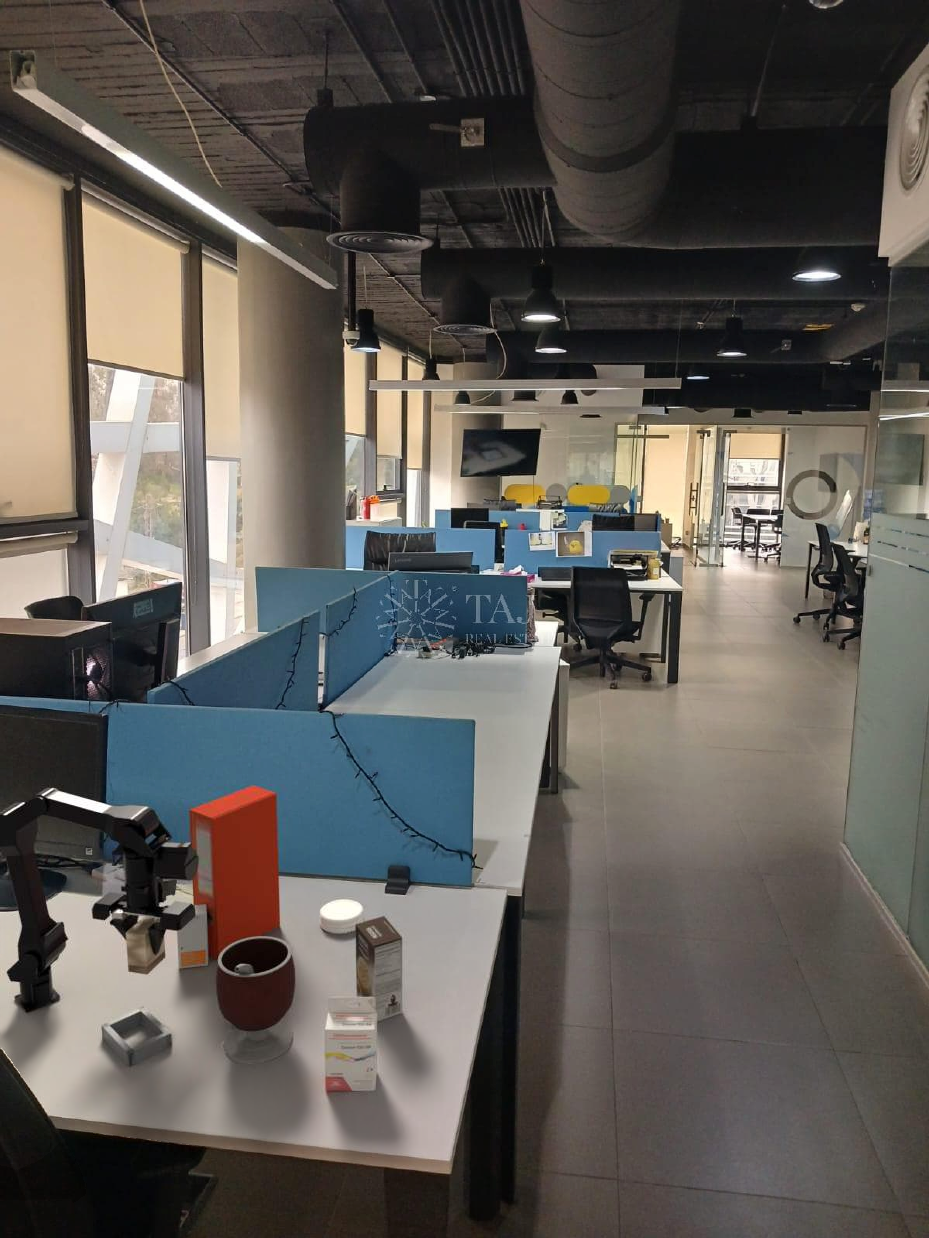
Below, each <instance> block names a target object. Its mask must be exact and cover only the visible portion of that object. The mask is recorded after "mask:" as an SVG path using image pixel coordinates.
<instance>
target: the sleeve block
mask: <svg viewBox="0 0 929 1238" xmlns="http://www.w3.org/2000/svg"><path fill="white" fill-rule="evenodd" d="M153 923H154V918H152V917H145V916H142V918H141V919H140V920H139V921H138V923H136V924H135V925H134V926H133V927H132V928H130V929H129V930H128V931H127V932H126V940H125V943H126V955H127V967H128V972H129V973H133V974H134V973H136V974H141V975H146V976H147V975H148V974H150V973H151V972H152V971H153V970H154V969H155V968H156V967H157V966H158V965H159V964H160V963H161V962H162V961H164V959H166V943H165V937H164V938H163V941H162V944H161V947H160V950H159V953H158V954H157V955H154V953H153V951H152V947H151V942H150V937H149V933H148V928H149V927H150V926H151V925H152V924H153Z"/></svg>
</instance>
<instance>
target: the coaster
mask: <svg viewBox="0 0 929 1238" xmlns="http://www.w3.org/2000/svg"><path fill="white" fill-rule="evenodd" d="M364 915H365V914H364V907H363V906H362V904H361V903H360V902H358V901H356V900H352V899H336V900H332V901H330V902H328V903H326V904H325V905H323V906H322V907H321V908H320V910H319V925H320V927H321V929H322V930H323V931H325V932H328V933H329V934H339V935H341V934H342V935H343V933H344V934H348V932H349V933H352V932H354V931H355V932H356V929H355V925H356V924H358V923H362V922H365V919H364ZM351 931H352V932H351Z"/></svg>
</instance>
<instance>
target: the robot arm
mask: <svg viewBox="0 0 929 1238" xmlns="http://www.w3.org/2000/svg"><path fill="white" fill-rule="evenodd" d="M41 816H46V817H50V818H54V819H58V820H61V821H64V822H67V823H68V822H69V823H72V824H75V825H79V826H81V827H85V828H90V829H93V830H97V831H100V832H101V833H104V834H106V836H107V837H108V838H109V839H110V840H111V841H113V842H115V843H116V844H118V845H117V846H116V848H115V849H113V850H112V851H111V855H112V856H122V857H123V868H124V870H123V871H124V881H125V883H123V884H122V885H121V886H120V890H121V892H122V893H119V892H111V891H110V892H108V893H107V894H105V895H104V896H102V897H101V898H99V899H98V900H97V901H96V902H94V903H93V904H92V907H91V916H92V917H91V918H92V919H93V920H100V921H106V920H107V919H108V918H109V917H111V920H109V925H111V926H113V927H114V928H115V929H116V930H117V932H119V934H120V935H121V937H122V938H123V939H124V940H125V941H126V932H127V931H128V930H129V929H130V928H132V927H133V926H134V925H135V924H136V923H138V922H139V921H138V920H139V917H152V918H154V923H153V924H152V925H151V926H150V927H149V928H148V933H149V937H150V942H151V947H152V951H153V953H154V955H157V954H158V953H159V950H160V947H161V944H162V941H163V938H164V939H165V934H166V932H167V930H168V931H173V932H174V931H175V932H177V931H178V930H181V929H182V928H183V927H184V926H186V925H187V924H188V923H189V922H190V921H191V920H192V919H193V918H194V917H195V916H196V914H195V907H194V903H191V902H184V901H176V900H175V901H174V902H173V903H172V904H170V905H163V906H160V904H161V903H165V902H166V901H167V897H169V896H173V897H174V896H176V891H177V890H176V889H177V884H178V883H177V882H178V881H186V882H187V881H188V882H189V881H190V882H191V881H192V880H193V879H194V877H195V875H196V873H197V870H198V864H199V856H198V855H197V852H196V850H195V849H192V843H191V842H171V840H173V836H172V834H171V832H170V831H169V830H168V829H167V828H166V826H165V825H164V824H163V823H162V821H161V820H160V819H159V816H158V814H157V813H156V810H154V808H151V807H149V806H146V805H145V806H143V805H135V804H132V805H131V804H130V805H129V804H128V805H119V806H117V805H109V804H107V803H103V802H99V801H96V800H93V799H88V798H84V797H81V796H78V795H75V794H70V793H68V792H63V791H60V790H59V789H57V788H55V787H47V788H45V789H43V790H42V791H40V792H38V793H36V794H35V795H33V796H32V797H31V799H29V800H28V801H26V802H22V801H18V802H15V803H13V804H11V805H9V806H8V807H6V808H4V809H3V810H1V811H0V854H1V855H3V856H4V858H5V861H6V865H7V869H8V874H9V878H10V881H11V887H12V891H13V894H14V898H15V899H14V900H15V903H16V908H17V911H18V915H19V920H20V921H19V922H20V924H21V929H20V932H19V936H18V941H17V958H18V959H17V961H16V962H15V963H14V964H13V965H11V967H10V968H9V969H7V971H6V974H7V977H8V979H9V981H10V982H11V983H12V982H13V983H18V984H19V994H16V995H14V1000H15V1001H16V1002H17V1004H18V1005H19V1006H20V1007H21V1008H22V1010H23V1011H24V1012H25V1013H29V1012H30V1011H33V1010H36V1009H39V1008H40V1007H44V1006H45V1005H46V1006H47V1004H50V1003H53V1002H55V1001H58V1000H60V999H61V995H60V993H58V992H57V991H56V989H55V988H54V987H53V986H54V985H53V975H52V974H53V973H52V965H53V964H54V963H55V962H57V961H58V959H59V957H60V955H61V954H62V953H63V952H64V951H65V948H66V946H67V941H68V940H69V938H68V935H66V934H67V933H66V931H65V924H64V922H63V921H59V922H56V921H55V919H53V918H52V917H51V916H50V913H49V909H48V904H47V899H46V896H45V892H44V888H43V883H42V882H43V881H42V879H41V873H40V870H39V869H40V868H39V865H38V861H37V856H36V852H35V844H36V839H37V836H38V831H39V830H38V829H39V828H38V827H39V826H38V818H39V817H41ZM152 836H155V837H154V838H153V839H152V840H151V841H150V842H149V843H147V842H146V841H148V839H150V838H151V837H152ZM123 892H124V893H123Z"/></svg>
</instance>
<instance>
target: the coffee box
mask: <svg viewBox="0 0 929 1238" xmlns="http://www.w3.org/2000/svg"><path fill="white" fill-rule="evenodd" d="M355 929H356V930H355V972H356V973H355V974H356V975H355V977H356V978H355V981H356V984H355V985H356V987H355V988H356V989H355V990H356V997H374V998H375V999H376V1013H377V1022H381V1021H383V1020H386V1019H390V1018H391V1017H392V1018H393V1017H394V1016H397V1015H400V1014H403V936H402V935H401V934H400V933H399V931H397V929H396V928H395V927H394V926H393V925H392V924H391V922H390V921H389V919H387V918H386V916H385V915H383V916H379V917H376V918H372V919H368V920H364V922H362V923H358V924H356V925H355Z"/></svg>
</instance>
